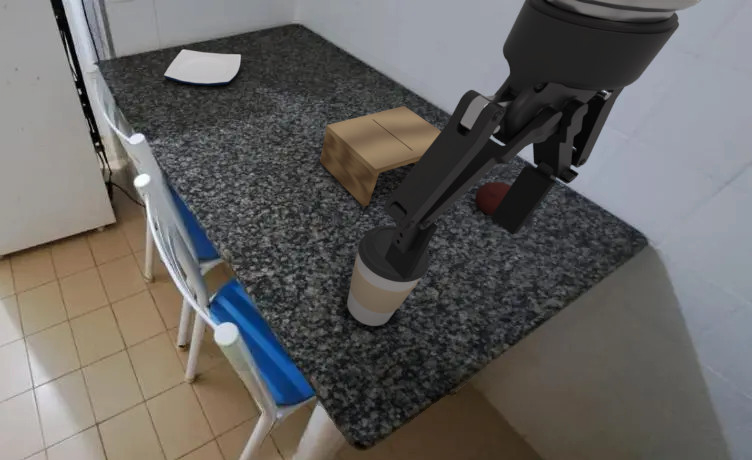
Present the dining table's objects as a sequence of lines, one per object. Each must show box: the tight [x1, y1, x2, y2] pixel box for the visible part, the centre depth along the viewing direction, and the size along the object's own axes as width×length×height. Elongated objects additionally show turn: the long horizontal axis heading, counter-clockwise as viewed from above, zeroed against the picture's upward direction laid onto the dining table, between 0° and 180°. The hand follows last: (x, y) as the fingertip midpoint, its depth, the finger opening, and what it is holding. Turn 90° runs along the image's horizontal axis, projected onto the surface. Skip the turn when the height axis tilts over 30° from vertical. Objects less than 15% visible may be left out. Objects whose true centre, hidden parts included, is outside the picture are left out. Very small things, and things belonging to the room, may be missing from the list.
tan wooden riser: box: [319, 105, 442, 208], centre depth 81 cm, size 16×20×9 cm
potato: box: [474, 181, 512, 217], centre depth 73 cm, size 7×8×6 cm
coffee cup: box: [346, 224, 430, 327], centre depth 55 cm, size 9×9×15 cm
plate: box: [163, 49, 242, 87], centre depth 115 cm, size 20×20×3 cm
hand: (453, 245), depth 38 cm, fingers open, 13 cm apart
